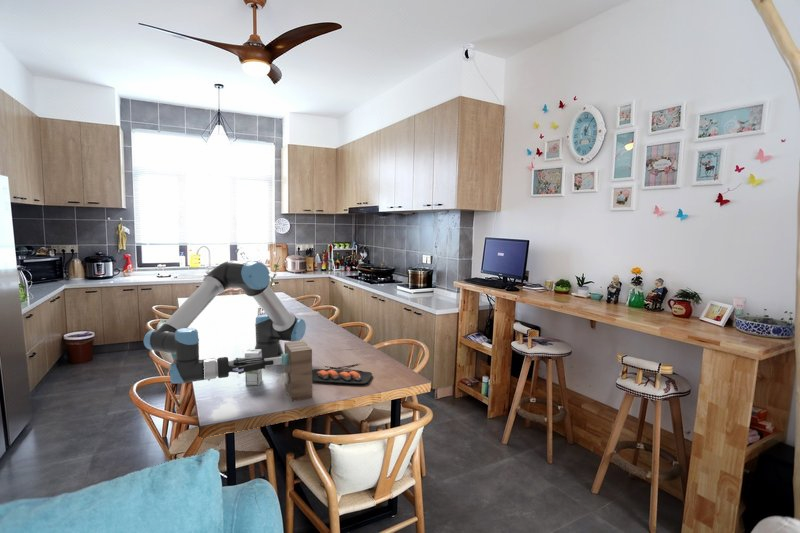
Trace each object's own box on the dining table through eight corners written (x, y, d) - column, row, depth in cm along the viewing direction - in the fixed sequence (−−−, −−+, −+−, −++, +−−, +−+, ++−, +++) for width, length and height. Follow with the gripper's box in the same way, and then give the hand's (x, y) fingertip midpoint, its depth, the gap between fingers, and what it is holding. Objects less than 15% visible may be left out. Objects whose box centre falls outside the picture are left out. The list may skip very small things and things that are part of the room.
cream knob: (280, 382, 169) (280, 371, 169) (305, 379, 174) (305, 368, 173) (282, 386, 165) (282, 375, 165) (308, 382, 169) (308, 371, 169)
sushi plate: (302, 383, 182) (302, 375, 182) (323, 361, 212) (323, 354, 211) (367, 387, 179) (367, 379, 178) (379, 365, 208) (379, 357, 208)
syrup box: (262, 380, 184) (262, 348, 182) (258, 385, 178) (257, 352, 177) (249, 380, 184) (248, 348, 182) (245, 385, 178) (244, 352, 176)
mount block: (285, 388, 175) (284, 342, 173) (304, 385, 178) (303, 340, 176) (292, 401, 162) (291, 351, 160) (312, 398, 166) (311, 349, 164)
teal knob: (280, 363, 168) (280, 352, 168) (305, 360, 173) (305, 349, 172) (283, 367, 164) (282, 355, 164) (308, 363, 169) (308, 352, 168)
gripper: (216, 372, 162) (278, 364, 172) (218, 383, 150) (284, 374, 160) (216, 353, 161) (278, 346, 171) (217, 363, 149) (284, 355, 160)
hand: (281, 360), depth 166 cm, fingers closed
